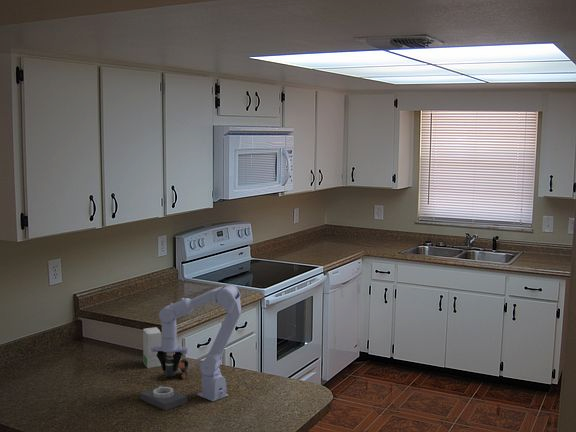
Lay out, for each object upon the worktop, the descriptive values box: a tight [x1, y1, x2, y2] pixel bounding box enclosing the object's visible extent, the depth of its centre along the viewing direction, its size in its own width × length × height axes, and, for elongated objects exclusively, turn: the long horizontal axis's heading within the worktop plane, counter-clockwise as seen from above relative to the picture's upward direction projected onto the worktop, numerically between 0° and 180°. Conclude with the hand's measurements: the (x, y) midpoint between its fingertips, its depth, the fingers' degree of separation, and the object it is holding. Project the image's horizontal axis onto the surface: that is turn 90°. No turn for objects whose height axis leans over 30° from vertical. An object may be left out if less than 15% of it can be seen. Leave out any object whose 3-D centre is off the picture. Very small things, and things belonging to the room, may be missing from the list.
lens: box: [165, 357, 177, 377], centre depth 262 cm, size 4×4×6 cm
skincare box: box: [142, 326, 162, 369], centre depth 294 cm, size 8×7×16 cm
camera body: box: [139, 385, 188, 411], centre depth 254 cm, size 16×10×4 cm, turn 46°
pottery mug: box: [163, 358, 189, 380], centre depth 281 cm, size 12×10×8 cm
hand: (170, 370), depth 262 cm, fingers closed on lens, 4 cm apart
